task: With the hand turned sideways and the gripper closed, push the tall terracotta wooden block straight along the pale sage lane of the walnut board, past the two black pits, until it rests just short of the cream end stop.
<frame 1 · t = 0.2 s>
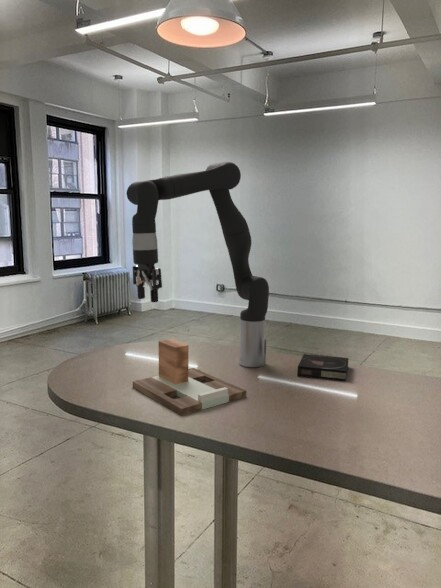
hand: (147, 300, 152), 29 cm above the table, tool pointing down, fingers open, 8 cm apart
block: (173, 378, 161), point 2 cm above the table, touching lane board
portable cd player: (323, 373, 177), on the table
lane board: (188, 391, 154), on the table
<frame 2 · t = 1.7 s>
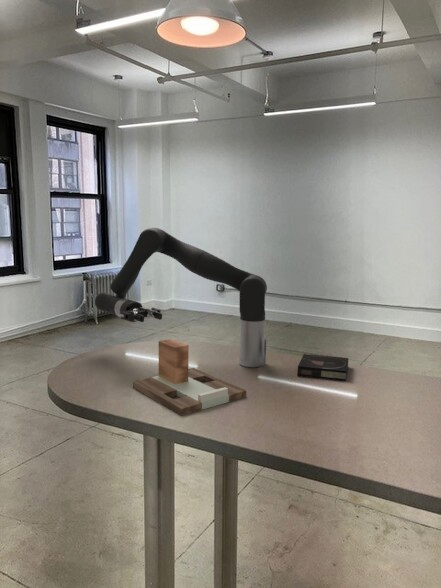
hand: (152, 317, 168), 20 cm above the table, tool horizontal, fingers open, 6 cm apart
nothing on the table moved.
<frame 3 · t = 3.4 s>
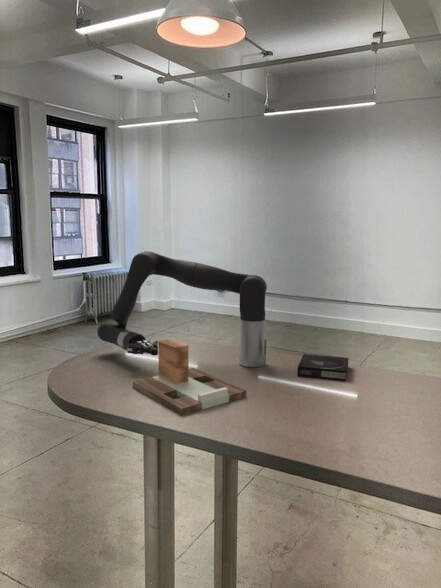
hand: (155, 352, 168), 8 cm above the table, tool horizontal, fingers closed
nothing on the table moved.
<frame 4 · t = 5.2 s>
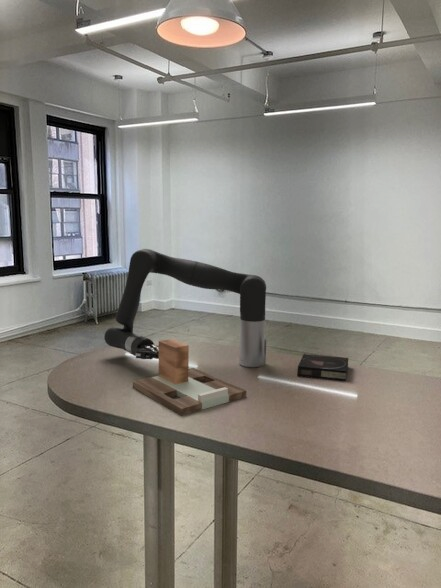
hand: (165, 357, 163), 8 cm above the table, tool horizontal, fingers closed
block: (173, 378, 161), point 2 cm above the table, touching gripper, lane board
everything else where it was.
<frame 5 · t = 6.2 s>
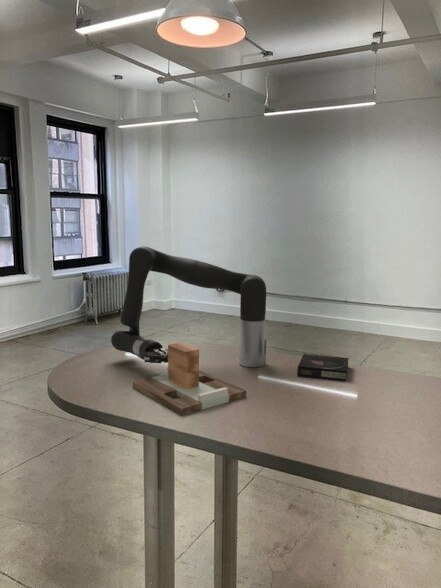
hand: (174, 361, 159), 8 cm above the table, tool horizontal, fingers closed
block: (183, 383, 156), point 2 cm above the table, touching gripper
everything else where it was.
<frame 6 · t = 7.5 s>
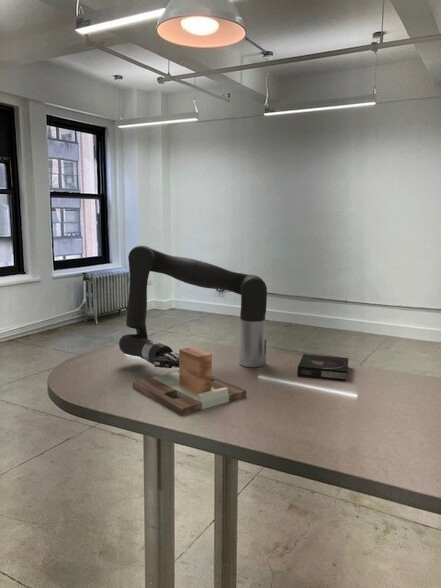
hand: (186, 366, 154), 8 cm above the table, tool horizontal, fingers closed
block: (195, 389, 151), point 2 cm above the table, touching gripper
everything else where it was.
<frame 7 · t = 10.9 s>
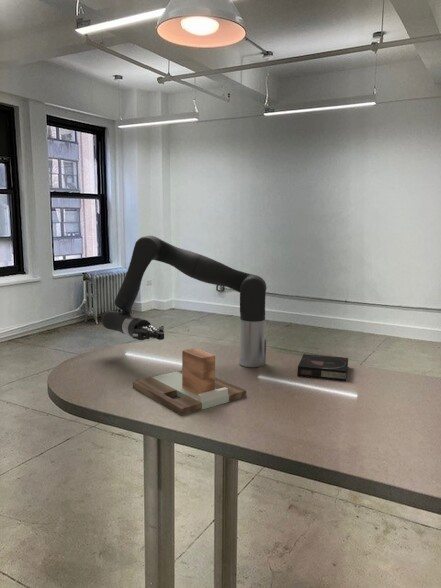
hand: (162, 336, 164), 15 cm above the table, tool horizontal, fingers closed
block: (198, 390, 150), point 2 cm above the table, touching lane board
everything else where it was.
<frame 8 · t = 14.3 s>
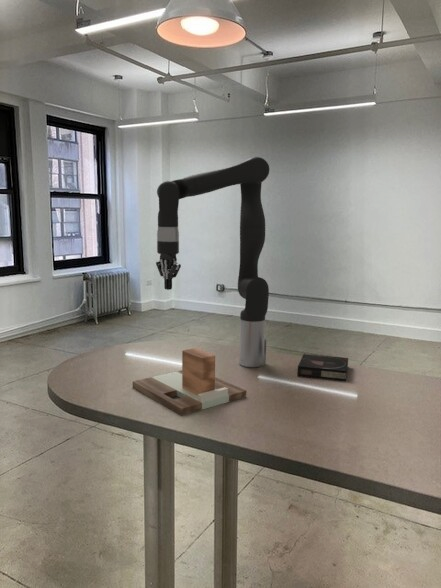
hand: (168, 289, 173), 29 cm above the table, tool pointing down, fingers closed
nothing on the table moved.
at the end: block 1.3 cm from the target spot on the lane board, point 2.0 cm above the lane board's base; block tilted 0° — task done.
